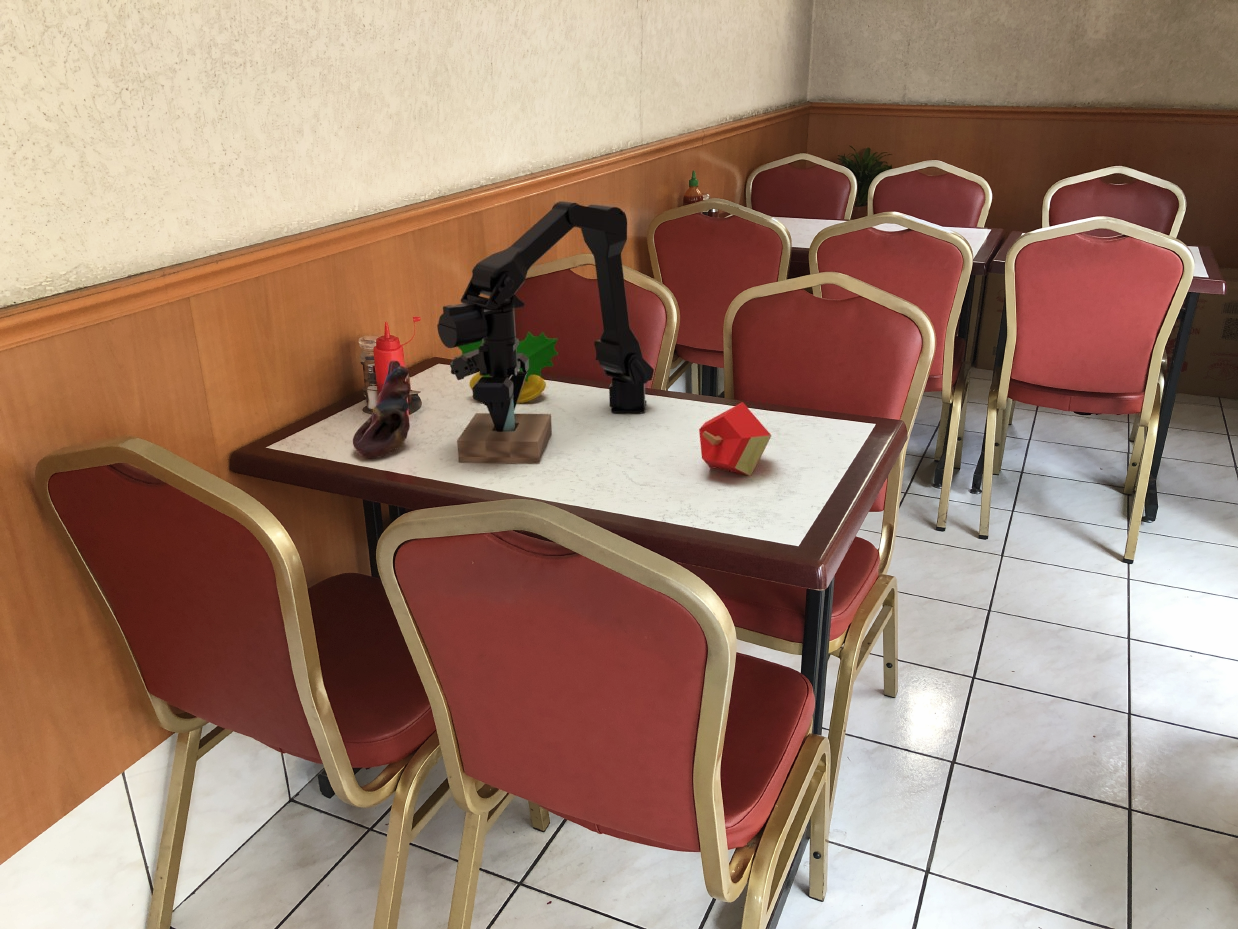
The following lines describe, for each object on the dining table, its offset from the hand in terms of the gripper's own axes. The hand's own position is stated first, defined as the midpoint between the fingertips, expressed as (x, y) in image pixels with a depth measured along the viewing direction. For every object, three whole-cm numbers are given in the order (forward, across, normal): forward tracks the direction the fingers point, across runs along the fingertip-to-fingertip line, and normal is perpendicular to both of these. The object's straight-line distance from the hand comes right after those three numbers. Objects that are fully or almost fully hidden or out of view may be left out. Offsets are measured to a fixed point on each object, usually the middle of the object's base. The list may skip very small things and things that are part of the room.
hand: (505, 422), depth 171 cm
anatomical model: (+5, +1, -22) cm, 23 cm away
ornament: (+5, -27, -4) cm, 28 cm away
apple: (+5, +8, +40) cm, 41 cm away
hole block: (+5, 0, 0) cm, 5 cm away
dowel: (+4, 0, 0) cm, 4 cm away
